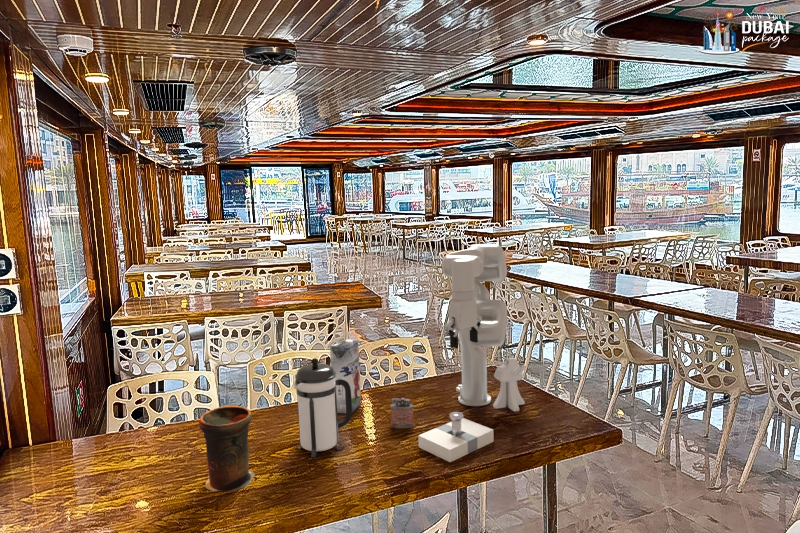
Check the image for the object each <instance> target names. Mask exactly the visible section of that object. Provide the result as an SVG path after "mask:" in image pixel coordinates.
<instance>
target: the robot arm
mask: <svg viewBox="0 0 800 533" xmlns="http://www.w3.org/2000/svg"><path fill="white" fill-rule="evenodd" d="M506 262H507V261H506V255H505V252H504V249H503V247H502V246H501V245H500V244H497V243H496V244H495V243H494V244H493V243H492V244H491V243H490V244H489V243H476V244H472V245H471V246H469V247H468V248H467V249H462V250H458V251H457V250H456V251H453V252H448V253H447V254H446V255H445V256H444V258H443V260H442V262H441V270H442V274H443V275H444V276H445V277H447V278H451V298H452V299H451V300H450V302H449V309H448V321H447V322H446V323H445V324H444V329H445V330H446V334H448V336H449V344H450V345H449V346H450V348H453V349H459V342H460V351H461V354H460V355H461V358H460V359H461V384H457V386H456V388H455V390H456V392H459V395H458V396H457V397H458V398H457V399H458V400H457V401H458V402H459V403H460V404H462V405H464V406H470V407H483V406H486V405H489V404H490V403H491V402H492V397H491V396H490V395H489V394H488V374H487V373H488V371H487V370H488V368H487V367H488V364H487V363H488V361H487V354H486V353H485V350H484V349H483V348H482V347H483V346H485V347H499V346H503V345H504V343H505V340H506V336H507V321H508V307H507V304H506V302H504V301H503V300H501V299H490V298H491V297H490V296H491V293H490V292H489V290H488V288H487V286H485V284H483V283H482V282H503V281H505V279H506V278H507V276H508V274H507V273H508V269H507V268H508V267H507V263H506Z"/></svg>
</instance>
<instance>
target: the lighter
mask: <svg viewBox="0 0 800 533" xmlns="http://www.w3.org/2000/svg"><path fill="white" fill-rule="evenodd" d="M410 402H411V399H410V398H405V397H401V398H391V403H392V404H390V405H389V407H390V417H391V418H390V421H391V423H390V427H391V428H395V429H409V428H411V429H412V428H414V427H415V422H414V404H411V403H410Z"/></svg>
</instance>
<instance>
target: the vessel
mask: <svg viewBox="0 0 800 533" xmlns="http://www.w3.org/2000/svg"><path fill="white" fill-rule="evenodd" d="M251 420H252V412H251V411H250V409H248V408H246V407H244V406H238V405H237V406H236V405H226V406H219V407H216V408H214V409H211V410H207V411H206V412H205V413H203V414H201V416H200V418H199V422H198V427H199V429H200V430H201V432H202V433H203V438H204V439H205V446H206V447H205V449H206V458H207V468H208V476H207V478H208V479H207V480H206V481H205V485H204V486H205V488H206V490H207V489H208V490H210V491H213V492H223V493H226V492H232V491H238V490H240V489H241V488H243V487H247V486H249V485H251V483H252V482H253V481H252V480H254V477H255V476H256V474H255V472H253V471H250V470H249V467H250V466H249V460H250V455H249V454H250V453H249V440H248V439H249V427H250V426H249V425H250V423H251Z"/></svg>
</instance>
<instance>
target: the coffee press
mask: <svg viewBox="0 0 800 533" xmlns="http://www.w3.org/2000/svg"><path fill="white" fill-rule="evenodd" d="M310 362H311V363H309V364H306V365H303V366H301V367H300V368H298V370H297V371H296V374H295V375H294V383H293V389H294V390H295V389H296V398H297V399H296V400H297V415H298V430H299V432H298V433H299V440H298V442H297V443H298V444H296V449H298V450H300V449H302V448H303V449H305V450H307V451H309V452H311V455H310V456H311V459H312V460H313V459H314V460H315V459H317V458H318V453H319V452H323V451H327V450H330V449H332V448H334V447H335V448H336V449H337V450H338V451H341V450H342V449H343V448H344V447H343V444H342V442H341V441H340V439H339V438H340V437H339V429H340V428H343V427H345V426H346V425H347V424H348V423H349V422H350V420H351V419H352V415H353V413H352V400H351V388H350V385H349V383H348V382H347V381H345V380H342V379H338V380H336V381H335V377H336V372H335V371H334V369H333V368H332V367H331V364H327V363H319V360H318V358H317V357H316V358H315V357H314V358H312V359H311V361H310ZM336 385H343V386H344V388H345V399H346V413H345V416H344V418H343V419H342V420H340V421H338V420H339V419H338V418H339V417H338V413H337V397H336ZM299 444H300V445H301V446H299ZM337 444H338V445H339V446H338V445H337Z"/></svg>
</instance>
